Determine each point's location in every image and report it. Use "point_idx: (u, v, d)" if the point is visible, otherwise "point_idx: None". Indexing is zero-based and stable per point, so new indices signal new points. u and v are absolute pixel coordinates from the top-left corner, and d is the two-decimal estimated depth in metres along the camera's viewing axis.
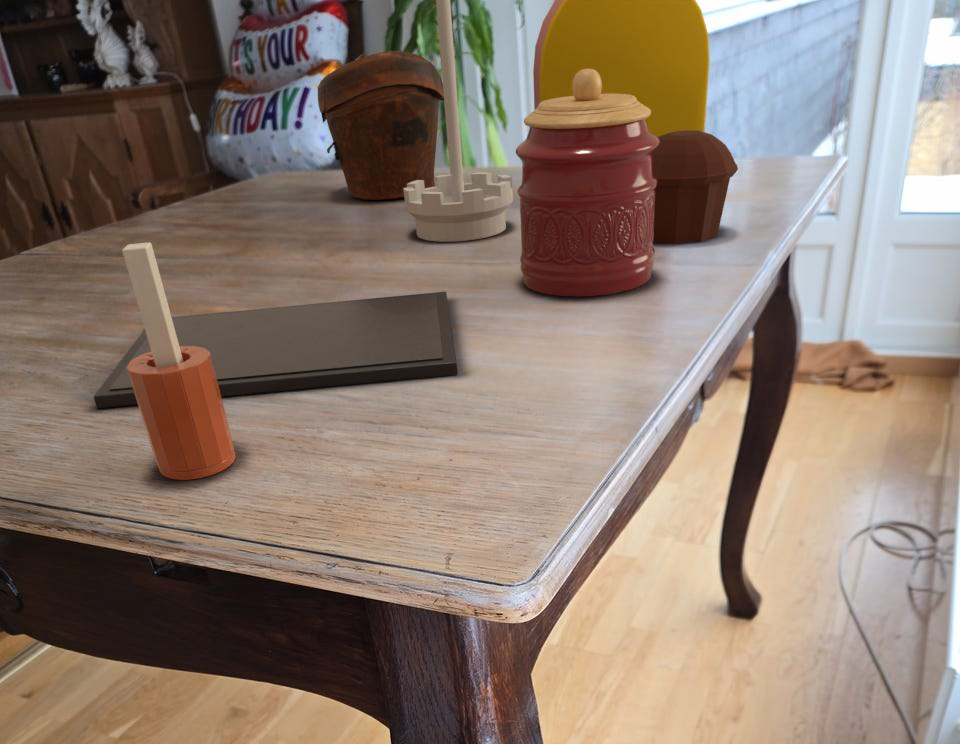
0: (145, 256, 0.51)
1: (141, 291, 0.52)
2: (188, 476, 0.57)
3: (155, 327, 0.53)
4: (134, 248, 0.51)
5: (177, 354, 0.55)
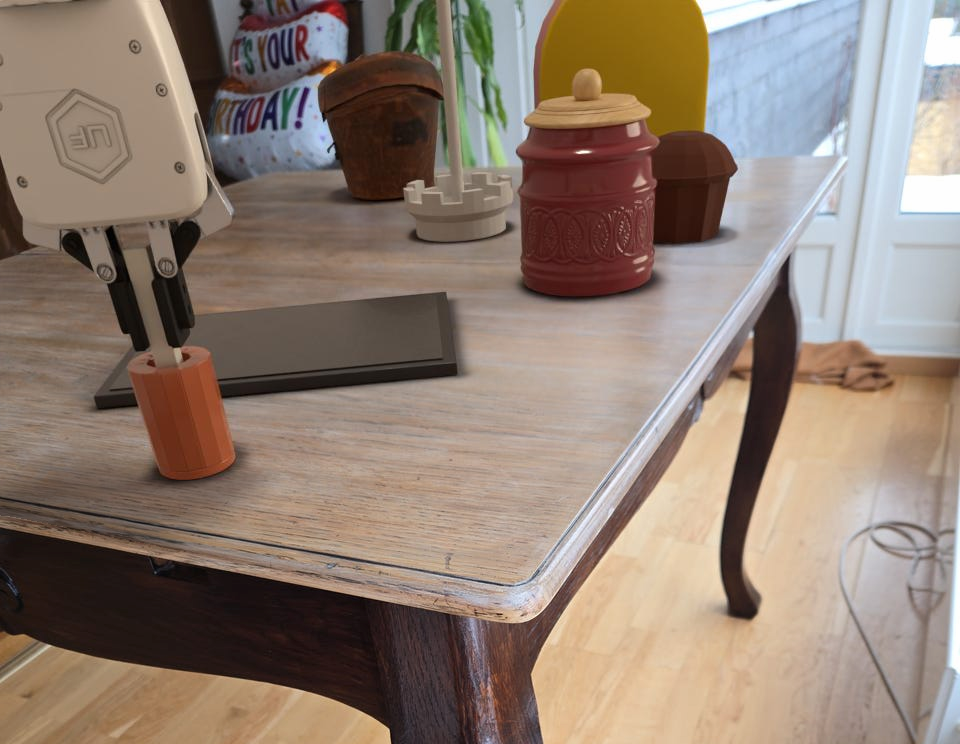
0: (145, 256, 0.51)
1: (141, 291, 0.52)
2: (188, 476, 0.57)
3: (155, 327, 0.53)
4: (134, 248, 0.51)
5: (177, 354, 0.55)
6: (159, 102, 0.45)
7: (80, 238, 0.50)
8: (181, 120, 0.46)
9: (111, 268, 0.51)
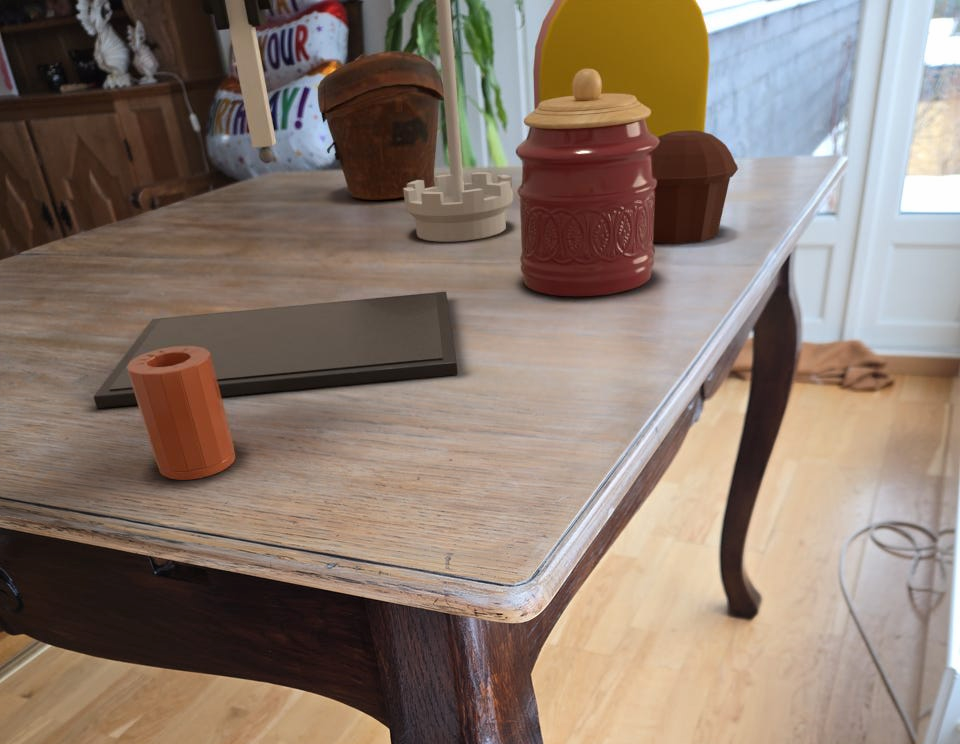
0: None
1: None
2: (188, 476, 0.57)
3: (236, 5, 0.54)
4: None
5: (255, 41, 0.55)
6: None
7: None
8: None
9: None
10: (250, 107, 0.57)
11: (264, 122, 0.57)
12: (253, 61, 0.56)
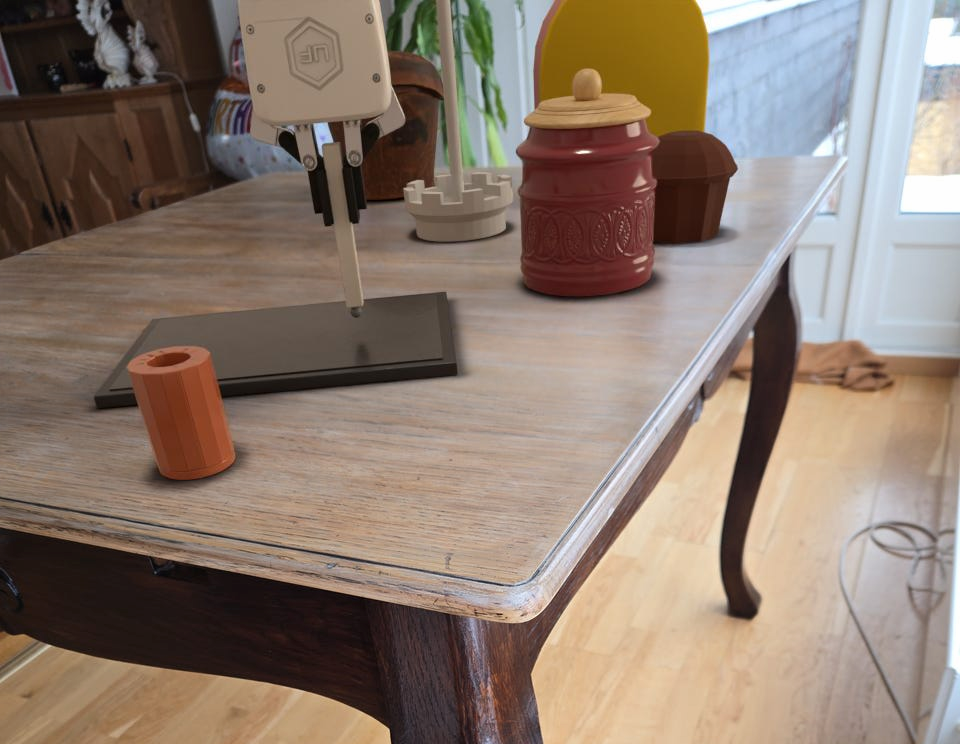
0: (338, 151, 0.68)
1: (332, 179, 0.69)
2: (188, 476, 0.57)
3: (339, 208, 0.70)
4: (330, 144, 0.68)
5: (352, 231, 0.71)
6: (367, 28, 0.62)
7: (292, 135, 0.67)
8: (380, 42, 0.62)
9: (313, 158, 0.67)
10: (346, 279, 0.73)
11: (356, 289, 0.74)
12: (350, 246, 0.72)
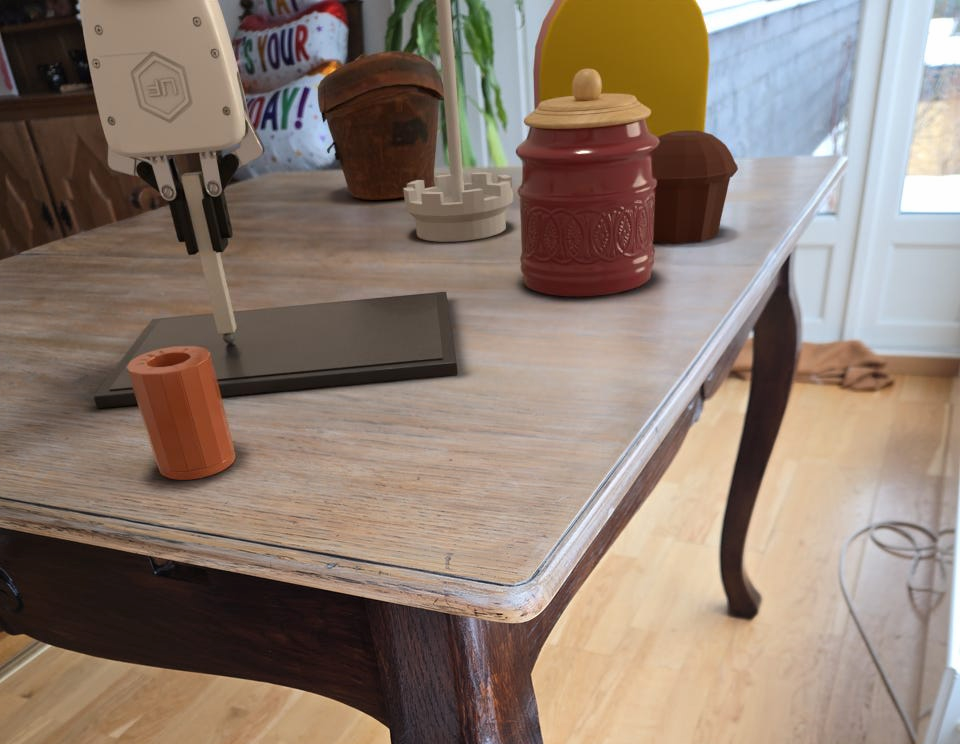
0: (198, 181, 0.68)
1: (194, 208, 0.69)
2: (188, 476, 0.57)
3: (203, 237, 0.71)
4: (190, 174, 0.68)
5: (219, 259, 0.72)
6: (213, 62, 0.62)
7: (150, 166, 0.67)
8: (228, 75, 0.63)
9: (172, 189, 0.68)
10: (215, 306, 0.74)
11: (226, 316, 0.74)
12: (217, 274, 0.72)
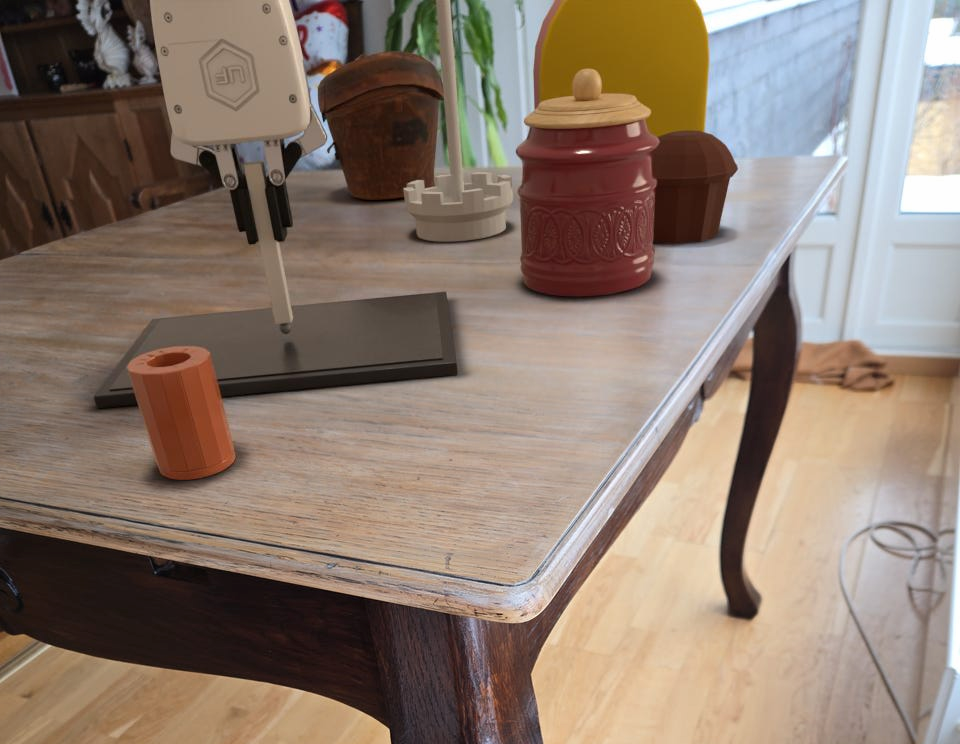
0: (260, 170, 0.68)
1: (255, 197, 0.69)
2: (188, 476, 0.57)
3: (264, 226, 0.70)
4: (252, 163, 0.68)
5: (278, 249, 0.72)
6: (281, 49, 0.62)
7: (212, 155, 0.67)
8: (295, 63, 0.63)
9: (234, 178, 0.68)
10: (273, 296, 0.73)
11: (284, 306, 0.74)
12: (277, 264, 0.72)
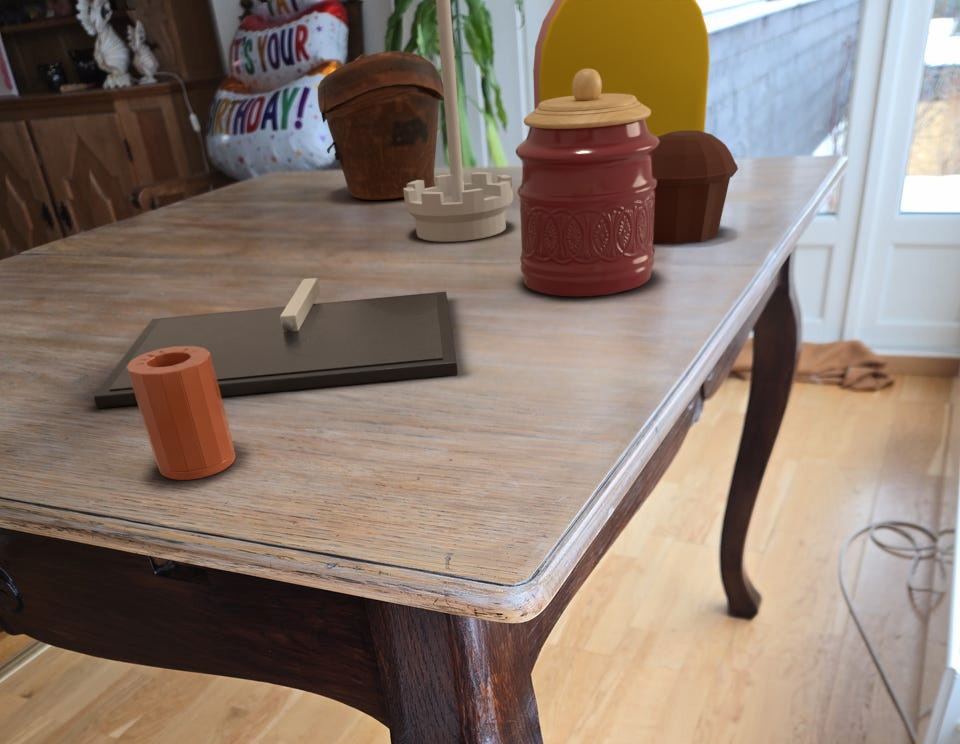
0: (315, 279, 0.86)
1: (303, 285, 0.84)
2: (188, 476, 0.57)
3: (302, 290, 0.83)
4: None
5: (307, 301, 0.81)
6: None
7: None
8: None
9: None
10: (288, 308, 0.79)
11: (294, 310, 0.78)
12: (301, 299, 0.80)
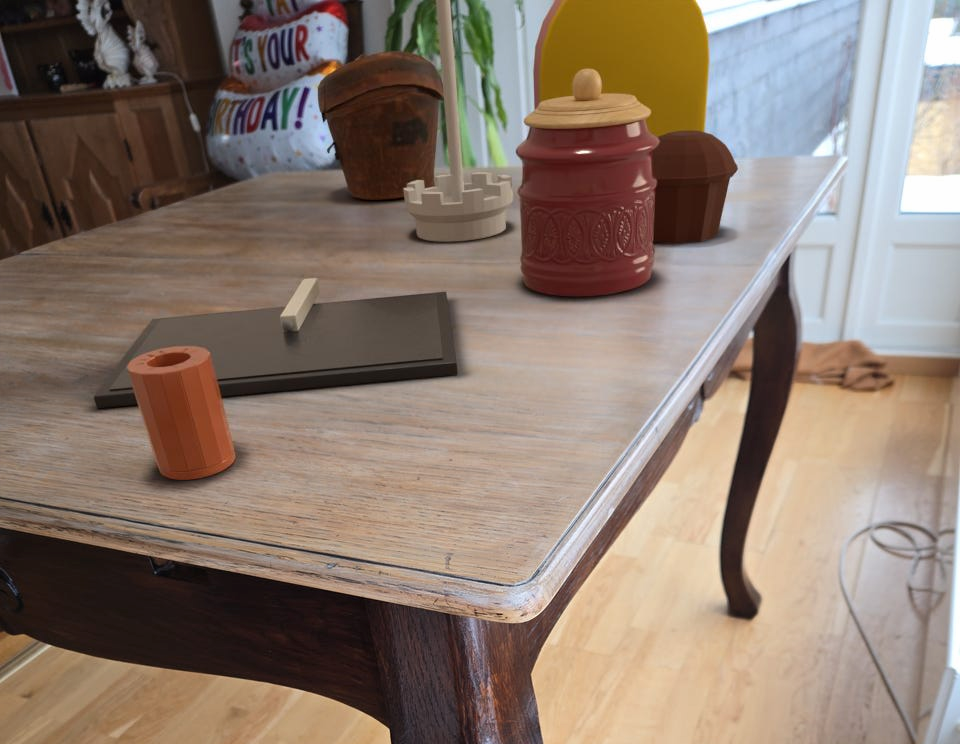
0: (315, 279, 0.86)
1: (303, 285, 0.84)
2: (188, 476, 0.57)
3: (302, 290, 0.83)
4: None
5: (307, 301, 0.81)
6: None
7: None
8: None
9: None
10: (288, 308, 0.79)
11: (294, 310, 0.78)
12: (301, 299, 0.80)
